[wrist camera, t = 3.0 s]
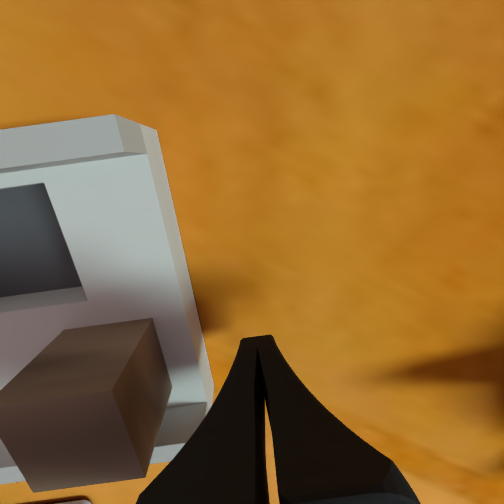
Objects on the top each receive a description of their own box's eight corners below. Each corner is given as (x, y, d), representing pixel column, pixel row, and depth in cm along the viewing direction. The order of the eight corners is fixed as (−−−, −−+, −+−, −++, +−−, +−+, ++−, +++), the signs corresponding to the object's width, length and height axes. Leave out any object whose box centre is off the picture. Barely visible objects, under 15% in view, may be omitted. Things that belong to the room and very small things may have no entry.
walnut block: (172, 387, 13) (145, 477, 9) (92, 397, 13) (33, 492, 9) (152, 317, 12) (111, 390, 8) (63, 329, 12) (-19, 407, 8)
